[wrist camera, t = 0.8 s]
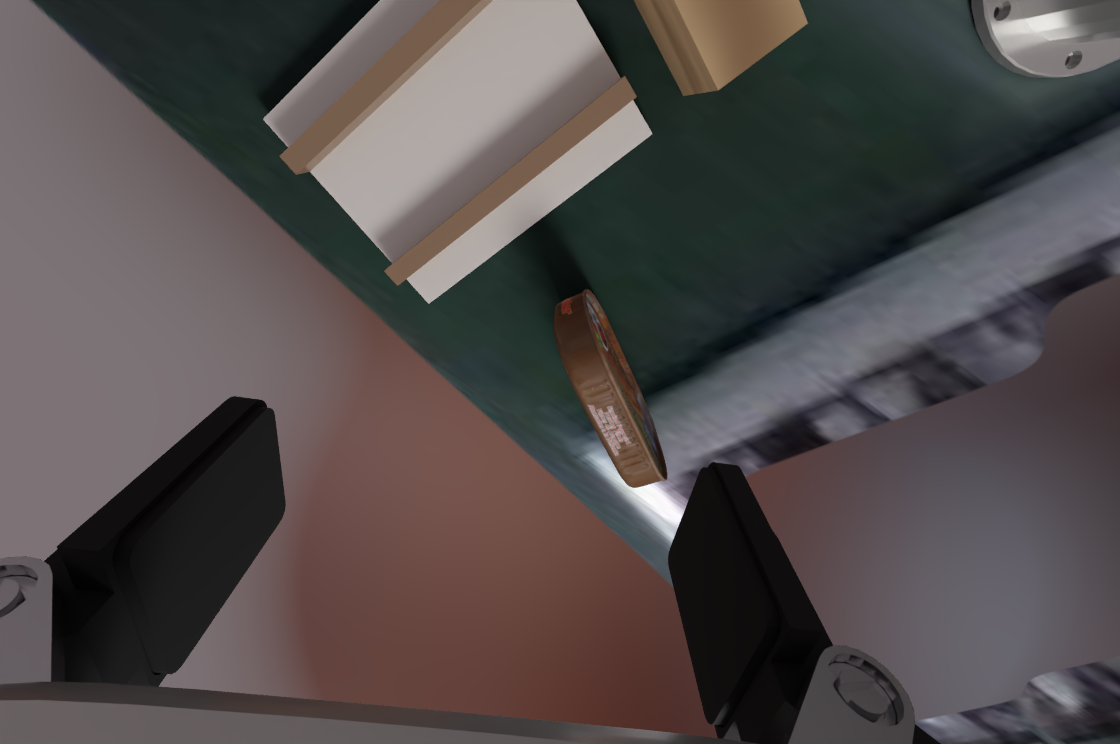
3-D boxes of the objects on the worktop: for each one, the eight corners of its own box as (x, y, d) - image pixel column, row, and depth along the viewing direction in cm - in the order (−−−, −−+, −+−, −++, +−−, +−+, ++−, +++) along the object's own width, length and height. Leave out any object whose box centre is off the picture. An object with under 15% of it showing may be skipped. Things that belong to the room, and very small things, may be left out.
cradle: (506, -116, 25) (500, -144, 22) (649, 133, 30) (658, 135, 27) (273, 119, 30) (245, 119, 27) (432, 298, 35) (422, 313, 32)
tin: (659, 432, 41) (683, 503, 33) (623, 445, 41) (639, 518, 34) (586, 271, 34) (596, 314, 27) (545, 290, 35) (544, 337, 27)
